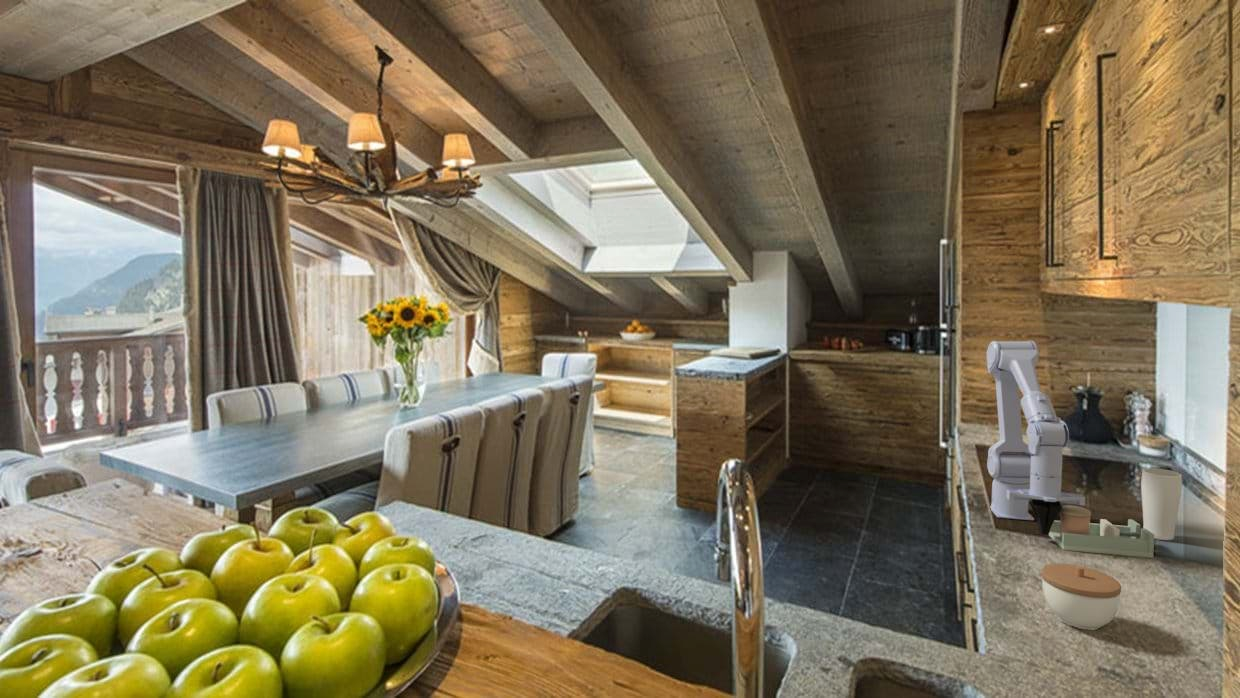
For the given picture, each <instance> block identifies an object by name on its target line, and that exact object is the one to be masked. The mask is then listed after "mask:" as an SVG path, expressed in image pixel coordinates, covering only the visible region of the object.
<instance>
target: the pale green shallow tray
mask: <svg viewBox="0 0 1240 698" xmlns="http://www.w3.org/2000/svg"><path fill="white" fill-rule="evenodd" d="M1113 525H1114V526H1115V527H1116V528H1118V529H1119V530H1120V531H1126V532H1139V533H1141V537H1130V536H1119V537H1111V536H1100V523H1092V522H1090V533H1089V535H1087V534H1074V533H1062V539H1061V538H1060V520H1056V519H1055V520H1054V522H1053V524H1052V526H1051V529H1050V532H1049V535H1048V536H1049V537H1050V538H1051V539H1052V540H1053V541H1054V542H1055V543H1056V544H1057V545H1058V546H1059V547H1060V548H1061V549H1062V550H1064V551H1073V552H1084V553H1085V552H1086V553H1093V554H1095V553H1096V554H1104V555H1105V554H1108V555H1118V556H1127V557H1128V556H1130V557H1138V558H1139V557H1141V558H1151V559H1154V556H1155V555H1154V550H1155V549H1154V548H1155V539H1154V534H1153V533H1151V532H1150V531H1148V530H1147V529H1145V528H1143V527H1141V524H1140V523H1138V522H1137V521H1135V520H1134V519H1132V518H1129V519H1127V525H1120V524H1119V525H1118V524H1113Z"/></svg>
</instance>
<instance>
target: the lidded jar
mask: <svg viewBox="0 0 1240 698" xmlns="http://www.w3.org/2000/svg"><path fill="white" fill-rule="evenodd" d="M1040 571H1041V588H1042V594H1043V598H1044V600H1045V603H1046V605H1047V606H1048V608H1049V609H1050V611H1051V612H1052V613H1053V614H1054V615H1055V616H1056V618H1057V619H1058V620H1059V621H1060V622H1061V621H1062V623H1063V622H1064V623H1063V624H1065V623H1066V624H1065V625H1067V624H1068V625H1067V626H1069V625H1071V626H1070V627H1072V626H1074V627H1073V628H1075V627H1078V628H1077V629H1079V628H1083V629H1098V628H1100V627H1101V628H1102V627H1103V626H1105V625H1107V624H1110V622H1111V621H1113V619H1114V618H1115V617H1116V615H1117V612H1118V610H1119V605H1120V601H1121V600H1120V599H1121V592H1122V585H1121V583H1120V581H1118V580H1117V579H1115V578H1114V577H1113V576H1111V575H1109V574H1107V573H1105V572H1102V571H1099V570H1096V569H1094V568H1090V567H1087V566H1082V565H1078V564H1077V565H1076V564H1072V563H1071V564H1070V563H1051V564H1047V565H1044V566H1043V567H1042V568H1041V570H1040ZM1101 628H1100V629H1101ZM1083 629H1082V630H1083ZM1098 630H1099V629H1098Z"/></svg>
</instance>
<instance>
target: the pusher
mask: <svg viewBox="0 0 1240 698" xmlns="http://www.w3.org/2000/svg"><path fill="white" fill-rule="evenodd" d="M1099 524H1100V536H1111V537H1119V536H1130V537H1140V538H1141V532H1140V533H1139V532H1126V531H1120V530H1119V529H1118V528H1116V527H1115V526H1114V525H1115V524H1112V523H1111V522H1110V521H1108V519H1106V518H1105V519H1104V518H1100V521H1099Z"/></svg>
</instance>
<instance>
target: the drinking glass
mask: <svg viewBox="0 0 1240 698" xmlns="http://www.w3.org/2000/svg"><path fill="white" fill-rule="evenodd" d="M1141 472H1142V473H1141V479H1140V482H1141V483H1140V484H1141V485H1140V491H1141V493H1140V494H1141V506H1142V508H1141V509H1142V522H1143V525H1142V528H1145V529H1147V530H1148V531H1150V532H1151V533H1153V534H1154V540H1159V541H1173V540H1174V539H1175V537H1176V536H1175V535H1176V527H1177V522H1178V521H1177V520H1178V514H1179V508H1180V504H1181V503H1180V502H1181V497H1182V489H1183V478H1182V477H1183V475H1182V474H1181V473H1179V472H1177V471H1173V470H1169V469H1163V468H1153V467H1151V468H1143V469H1142V471H1141Z"/></svg>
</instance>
